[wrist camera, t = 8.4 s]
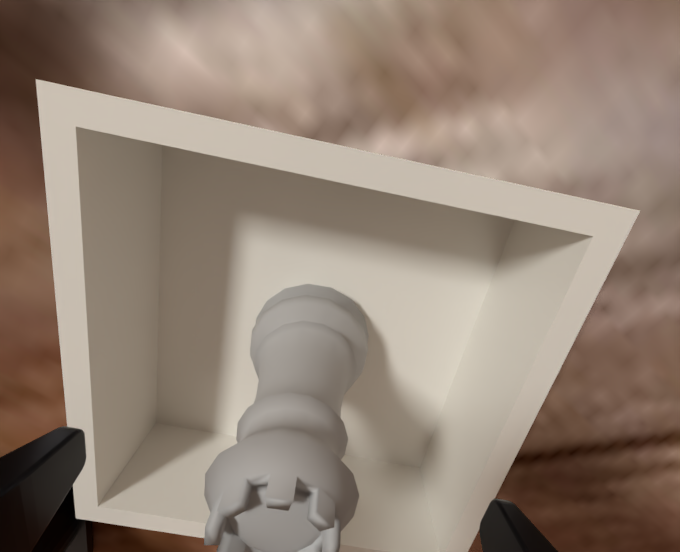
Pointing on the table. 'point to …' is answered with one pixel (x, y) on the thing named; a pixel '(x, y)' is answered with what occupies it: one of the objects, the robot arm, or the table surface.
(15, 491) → the robot arm
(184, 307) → the white square tray
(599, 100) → the table surface
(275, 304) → the rook chess piece
